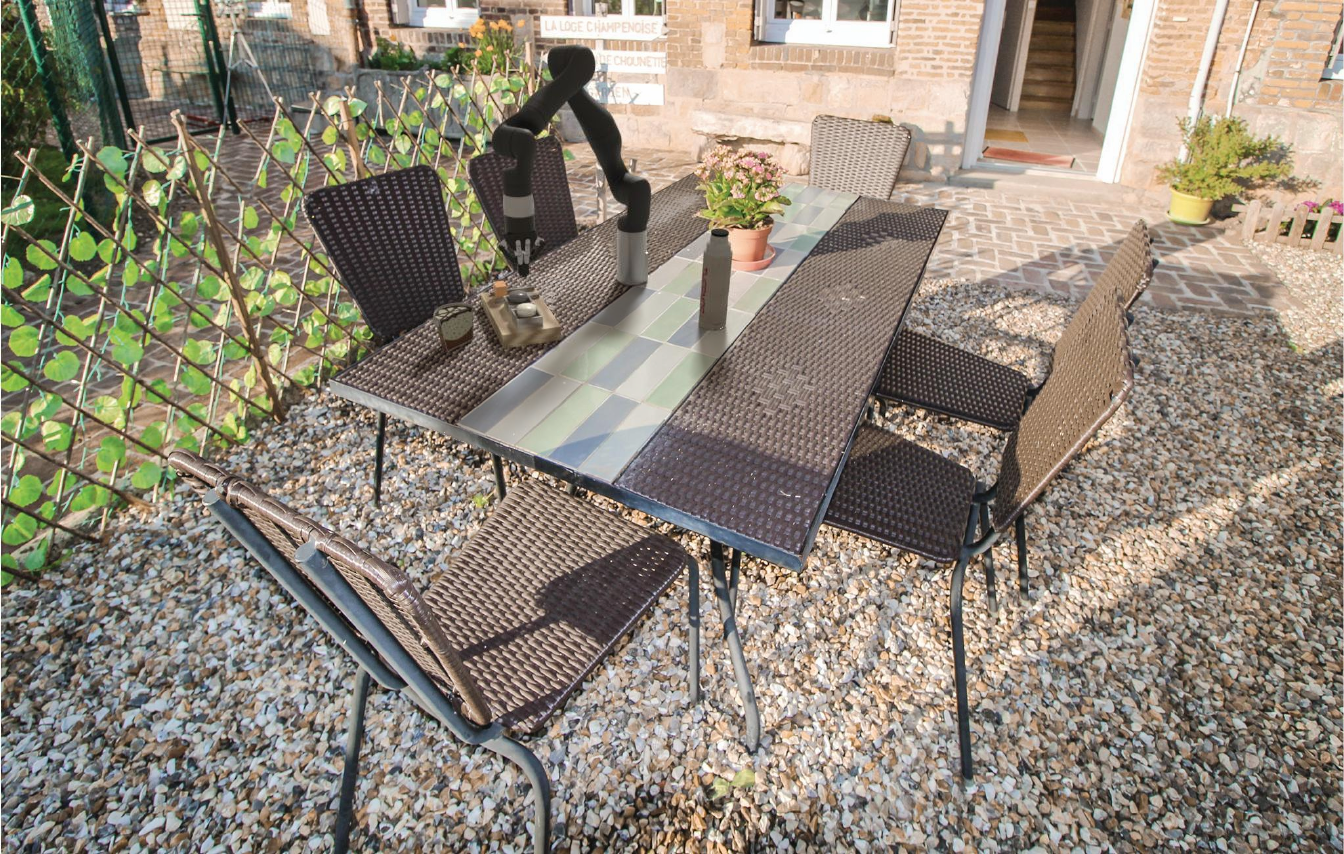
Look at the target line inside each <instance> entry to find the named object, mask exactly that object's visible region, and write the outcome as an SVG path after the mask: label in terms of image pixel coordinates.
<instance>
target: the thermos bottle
mask: <svg viewBox="0 0 1344 854" xmlns="http://www.w3.org/2000/svg"><path fill="white" fill-rule="evenodd" d="M729 235H730V232H729V230H728V229H725V228H718V227H717V228H713V229H711V231H710V238H709V239H708V240H707V242H706V244H705V245H706V246H705V247H704V249H703V253H702V254H703V256H702V257H703V258H702V270H701V287H700V288H701V289H700V296H699V297H700V299H699V300H700V301H699V309H698V310H699V313H698V325H699V327H700V328H702V327H703V328H702V329H704V328H705V330H708V329H720V328H722V327H724V326H725V325H726V326H727V315H728V305H729V293H730V284H731V274H732V272H731V271H732V263H733V250H732V245H731V244H732V243H731V242H730V241H729ZM726 326H725V327H726ZM725 327H724V328H725ZM720 330H721V329H720Z"/></svg>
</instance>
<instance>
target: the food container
mask: <svg viewBox="0 0 1344 854" xmlns="http://www.w3.org/2000/svg"><path fill="white" fill-rule="evenodd" d="M475 311H476V310H475V308H474V306H473V304H471V303H468V302H452V303H447V304H442V305H441V306H439V307H437V308H436V309H435V310H434V312H433V315H432V323H433V324H434V326H436V328H437V333H438V336H439V341H440V345H441V348H442V350H443V351H444V352H446V353H448V352H451V351H453V350H455V349H456V348H459V347H462V346H463V345H466V344H467V343H469V342H472V341H473V340H474V339H475V336H474V312H475Z"/></svg>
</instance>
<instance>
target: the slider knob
mask: <svg viewBox="0 0 1344 854" xmlns="http://www.w3.org/2000/svg"><path fill="white" fill-rule="evenodd" d="M492 286H493V291H494V295H495V297H496V299H498V298H503V296H508V295H507V289H508V286H507V284H506V283H505V281H504V280H499V281H498V280H497V281H493V282H492Z"/></svg>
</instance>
